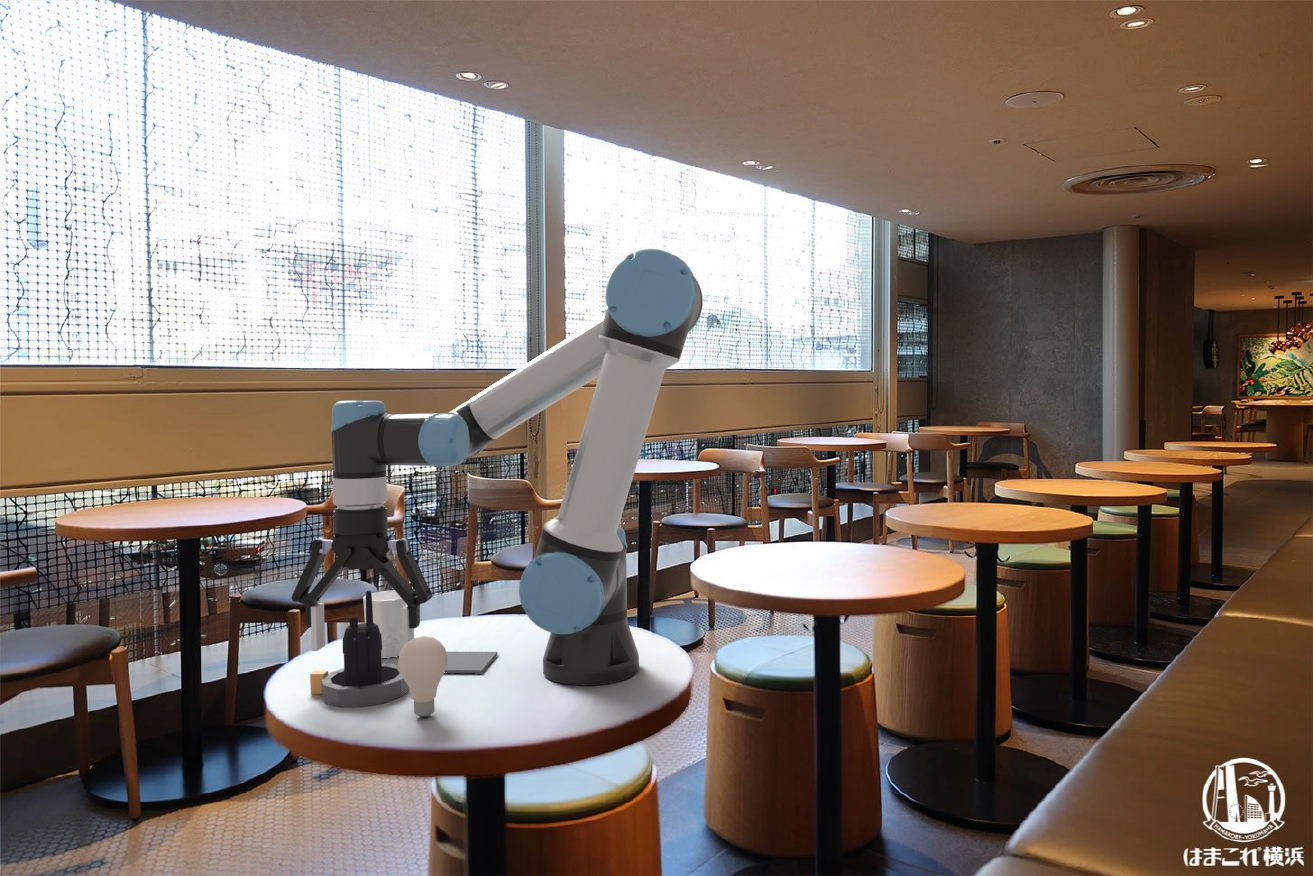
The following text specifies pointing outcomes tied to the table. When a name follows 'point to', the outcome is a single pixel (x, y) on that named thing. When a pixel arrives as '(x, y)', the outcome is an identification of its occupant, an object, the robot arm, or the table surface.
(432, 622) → the table surface
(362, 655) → the two-way radio
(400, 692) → the dock collar
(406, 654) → the light bulb
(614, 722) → the table surface
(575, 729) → the table surface
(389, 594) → the white cup
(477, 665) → the mat
